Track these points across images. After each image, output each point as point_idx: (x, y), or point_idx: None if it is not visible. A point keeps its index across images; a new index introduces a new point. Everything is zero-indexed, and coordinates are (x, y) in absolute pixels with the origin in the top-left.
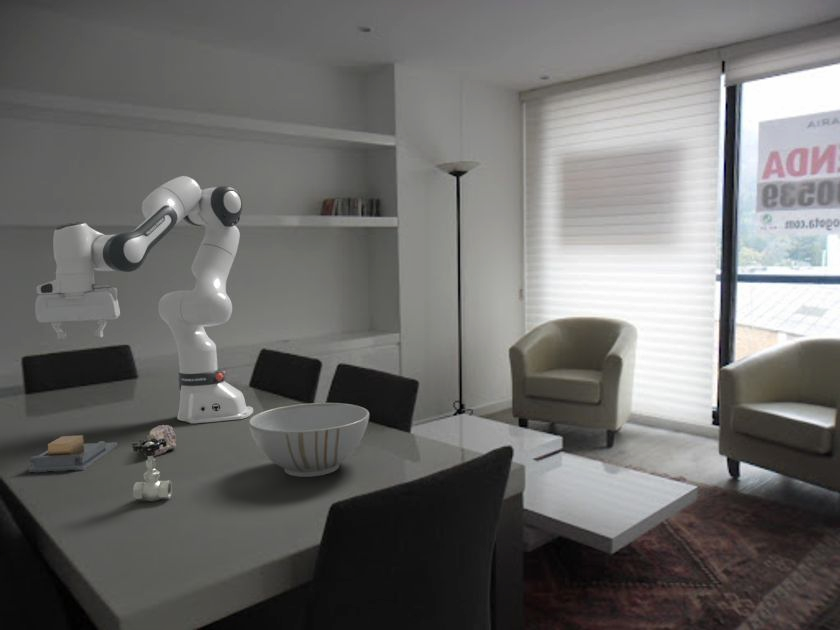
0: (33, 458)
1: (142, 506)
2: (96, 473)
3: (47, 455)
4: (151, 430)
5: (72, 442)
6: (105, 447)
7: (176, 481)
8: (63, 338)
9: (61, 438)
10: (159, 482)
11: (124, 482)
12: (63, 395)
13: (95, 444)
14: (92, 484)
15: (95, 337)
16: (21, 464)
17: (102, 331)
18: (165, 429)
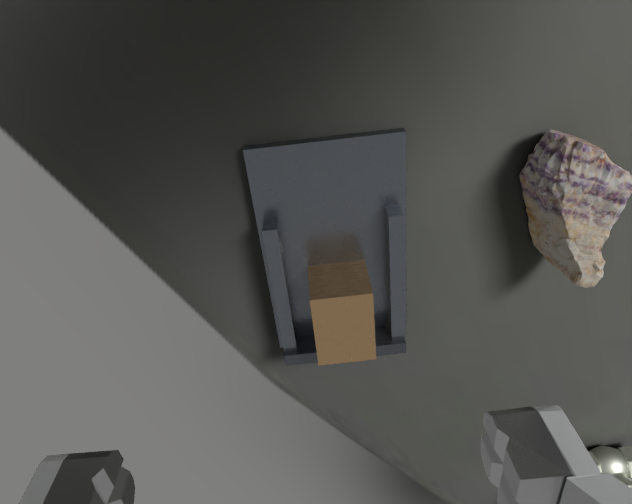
0: (293, 363)
1: None
2: (445, 345)
3: (291, 312)
4: (566, 202)
5: (375, 344)
6: (391, 190)
7: (628, 383)
8: (134, 492)
9: (323, 320)
10: (627, 476)
11: (525, 387)
12: None
13: (390, 248)
14: (464, 395)
15: (482, 447)
16: (209, 287)
17: (588, 464)
18: (619, 213)
